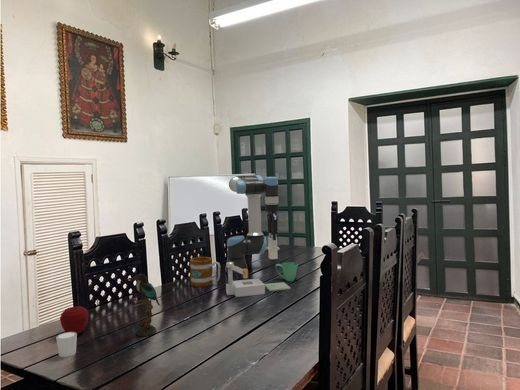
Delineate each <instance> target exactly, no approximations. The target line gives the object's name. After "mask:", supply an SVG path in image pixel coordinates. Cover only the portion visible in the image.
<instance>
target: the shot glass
mask: <svg viewBox="0 0 520 390" xmlns="http://www.w3.org/2000/svg"><path fill="white" fill-rule="evenodd" d="M77 336H78V334H77V333H75V332H66V333H65V332H63V333H60V334H58V335H56V337H55V338H56V345H57V352H58V356H59V357H60V358H69V357H72V356H74V355H75V354H76V353H77V341H78V340H77Z"/></svg>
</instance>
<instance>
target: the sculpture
mask: <svg viewBox="0 0 520 390" xmlns="http://www.w3.org/2000/svg"><path fill="white" fill-rule="evenodd" d="M124 280H125V281H136V283H135V284H136V285H135V287H136V290H137V291H138V292H139V293H140V294H142V295H143V297H142V299H140V300H137V298H135V297H132V302H134V301H135V302H136V303H144V305H146V306H147V309H146V310H145V315H146V318H145V317H143V320H141V317H142V316H143V313H141V310H138V311H137V312H136V315H137V317H136V319H137V325H138V326H139V328H138V329H136V332H135V334H136V335H137V336H138V337H142V336H143V337H150V336H154V335H155V334H156V333H157V328H156V327H155V326H154V325H152V324H151V323H152V318H153V315H154V314H153V313H152V310H153V309H154V305H153V304H152V301H155V302H156V304H157V305H158V306H161V304H160V301H159V299H158V296H157V291H156V289H155V287H154V286H153V284H152V283H150V282H149V279H148V278H147V275H145V274H144V273H139V274H137V275H135V276H132V277H128V278H125V279H124ZM139 313H141V314H140V316H139Z"/></svg>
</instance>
